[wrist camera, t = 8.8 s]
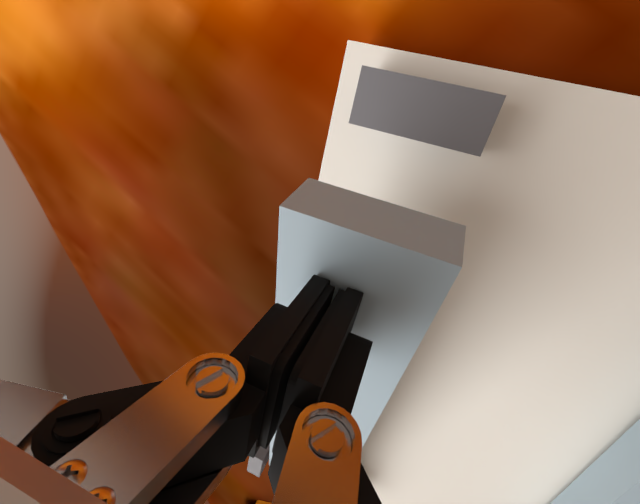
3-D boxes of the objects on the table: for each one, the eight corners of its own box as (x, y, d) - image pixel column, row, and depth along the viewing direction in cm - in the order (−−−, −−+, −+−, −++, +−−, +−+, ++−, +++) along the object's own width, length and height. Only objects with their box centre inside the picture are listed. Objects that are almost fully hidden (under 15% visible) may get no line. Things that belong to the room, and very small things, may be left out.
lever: (342, 469, 23) (333, 500, 22) (282, 437, 24) (268, 465, 23) (466, 225, 9) (462, 267, 8) (308, 177, 10) (279, 205, 9)
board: (573, 559, 23) (610, 687, 18) (280, 411, 28) (243, 477, 23) (1039, 188, 11) (1603, 253, 5) (363, 52, 16) (324, 20, 11)
